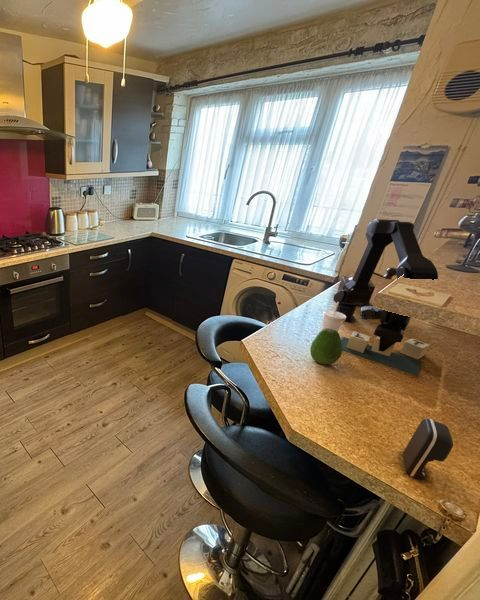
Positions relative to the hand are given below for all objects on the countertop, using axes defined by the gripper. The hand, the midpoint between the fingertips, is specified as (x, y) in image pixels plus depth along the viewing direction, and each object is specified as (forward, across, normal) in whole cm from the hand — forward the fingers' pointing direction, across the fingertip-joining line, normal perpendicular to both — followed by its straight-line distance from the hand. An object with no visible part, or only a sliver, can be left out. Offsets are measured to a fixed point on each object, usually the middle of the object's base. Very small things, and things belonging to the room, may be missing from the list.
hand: (382, 348), depth 103 cm
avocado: (+3, +18, -12) cm, 22 cm away
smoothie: (+3, 0, -14) cm, 15 cm away
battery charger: (+3, +47, +13) cm, 49 cm away
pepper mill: (+3, -47, -14) cm, 49 cm away
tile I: (+1, 0, 0) cm, 1 cm away
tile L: (+3, 0, -6) cm, 7 cm away
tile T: (+3, -9, +7) cm, 12 cm away
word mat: (+3, 0, 0) cm, 3 cm away
